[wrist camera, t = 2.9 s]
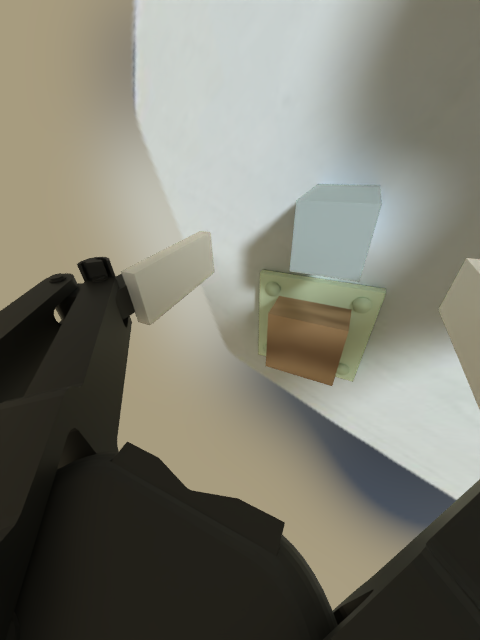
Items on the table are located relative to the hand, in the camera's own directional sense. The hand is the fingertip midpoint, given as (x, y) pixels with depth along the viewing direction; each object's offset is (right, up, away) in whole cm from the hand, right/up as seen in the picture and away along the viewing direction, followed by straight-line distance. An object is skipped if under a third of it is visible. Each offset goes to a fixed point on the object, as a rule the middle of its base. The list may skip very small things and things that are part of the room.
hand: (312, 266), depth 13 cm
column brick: (+5, +7, +9) cm, 12 cm away
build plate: (+5, -4, +16) cm, 18 cm away
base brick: (+4, -4, +16) cm, 17 cm away
